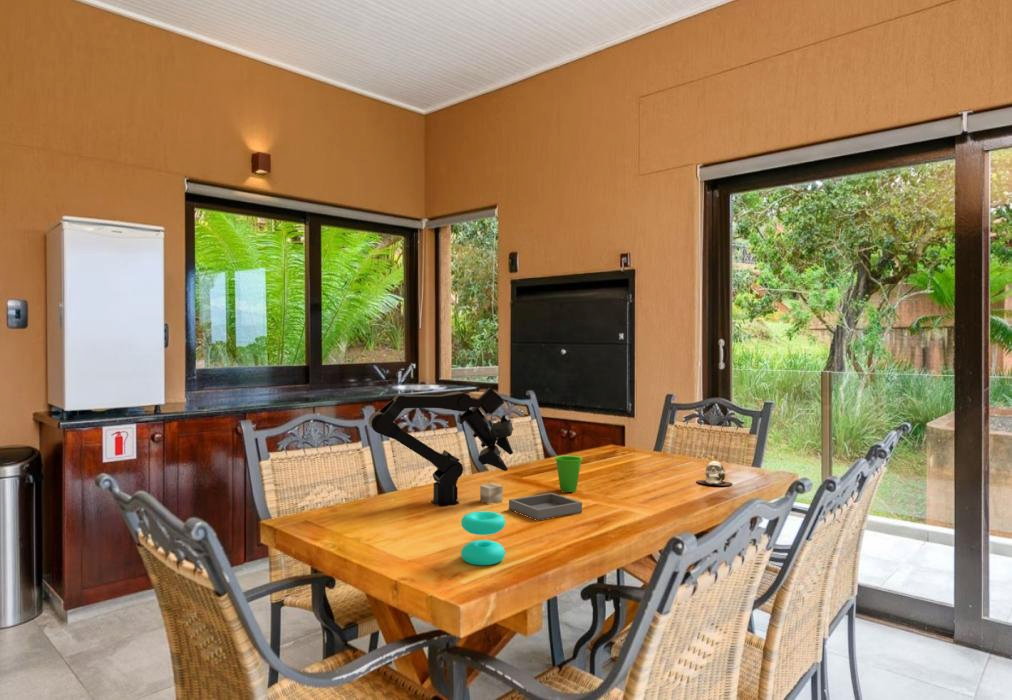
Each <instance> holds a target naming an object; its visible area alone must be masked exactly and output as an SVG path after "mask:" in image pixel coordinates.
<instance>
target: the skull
mask: <svg viewBox="0 0 1012 700" xmlns="http://www.w3.org/2000/svg"><path fill="white" fill-rule="evenodd" d="M704 474H705V479H697V480H696V483H700V484H703V485H704V484H705V485H712V486H732V485H733V482H730V481H726V480H725V478H726V469H725V467H724V466H723V464H722V463H720V462H719V461H715V460H713V461H710V462H709V463H708V464H707V465H706V467H705V473H704Z"/></svg>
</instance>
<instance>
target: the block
mask: <svg viewBox="0 0 1012 700" xmlns="http://www.w3.org/2000/svg"><path fill="white" fill-rule="evenodd" d="M479 487H480V488H479V491H480V494H479V495H480V496H479V501H480V502H481V501H483V502H482V503H484V502H486V503H488V504H487V505H489V504H490V505H492V504H491V503H496V504H498V503H497V502H502V501H503V499H504V498H503V497H504V491H503V489H504V487H503V485H500V484H498V483H486V484H480V486H479ZM486 503H485V504H486ZM502 503H503V502H502Z"/></svg>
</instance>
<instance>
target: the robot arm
mask: <svg viewBox="0 0 1012 700" xmlns="http://www.w3.org/2000/svg"><path fill="white" fill-rule="evenodd" d="M504 404H505V400H504V399H503V397H502V396H500V395H499V394H498V393H497V392H496V391H494V389H493V388H491V387H488V388H486V389H485V391H484V392H483V393H482V394H481V395H480V396H479V397H474V396H473V397H471V396H470V394H468V393H466V392H462V391H453V392H452V391H451V392H448V393H445V394H444V393H443V394H439V395H438V394H435V395H434V394H432V395H431V394H430V395H429V394H428V395H426V394H425V395H423V394H422V395H421V394H419V395H417V394H416V395H415V394H410V395H407V394H406V395H405V394H404V395H403V394H396V395H395V396H394V397H393V398H392V400H391V401H389V402H388V403H386V404H385V405H384V406H383V407H382V408H381V409H380V410H379V411H375V412H373V413H371V415H370V416H369V418H368V425H369V427H370V429H372V430H373V431H374V432H375V433H377V434H380V435H382V436H385V437H386V438H391V439H393V440H395V441H397V442H399V443H400V444H401V445H403V446H405V447H406V448H407V449H409V450H411V451H412V452H414V453H415V454H417V455H418V456H420V457H422V458H423V459H425V460H427V461H429V462H430V463H431V464H432V465H433V466H434V467H435V468H436V470H435V471H434V472H433V473H432V477H433V480H434V481H435V482H434V483H433V499H431V500H430V502H431V504H435V505H436V506H439V507H446V506H452V505H457V504H460V502H459V501H458V495H459V494H458V489H459V488H458V486H457V483H458V480H459V478H460V477H462V475H463V473H464V466H463V463H461V462H460V461H461V459H459V457H456V456H455V455H452V454H451V453H450V452H449V451H447V450H445V449H443V451H442V453H441V452H438V451H436V450H435V449H433V448H432V447H430V446H428V445H427V444H425V443H424V442H422V441H421V440H419V439H417V438H416V437H415V436H413V435H411V434H410V433H408V432H406V431H405V430H403V429H402V428H401V427H400V426H399V425H398V424H397V423H396V422H395V420H397V418H398V417H399V416H400V414H401V413H402V412H403V410H405V409H446V410H450V411H454V412H455V411H456V412H462V414H458V413H457V419H456V423H458V424H460V425H462V424H463V423H464V422H465V424H467V426H468V428H469V429H470V430H471V431H472V432H473V434H472V436H473V438H478V440H479V441H480V447H481V448H484V449H481V450H480V452H479V454H478V459H477V461H478V463H480V465H482V466H484V465H485V466H486V465H488V466H493V468H496V469H499V470H502V471H503V472H507V471H508V470H509V469H508V466H507V465H506V463H505V462H504V460H503V459H502V457H501V450H500V449H499V448H501V449H502V450H503V451H504V452H506V453H507V454H508V455H510V456H511V455H513V454H514V452H513V449H512V446H511V444H510V441H509V438H508V437H510V436H512V434H513V431H514V427H513V420H511V418H509V416H508V415H507V414H504V415H501V418H500V420H497V422H494V421H493V420H491V419H489V420H488V419H487V417H486V416H487V415H490V416H492V415H493V414H494V413H495V412H496V411H497V410H498V409H500V408H501V407H502V406H504Z"/></svg>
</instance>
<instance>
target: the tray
mask: <svg viewBox="0 0 1012 700" xmlns="http://www.w3.org/2000/svg"><path fill="white" fill-rule="evenodd" d="M509 509H510V510H513V511H516V512H518V513H521V514H523V515H526V516H528V517H531V518H533V519H536V520H541V521H543V520H542V519H546V520H548V519H547V518H552V517H557V518H559V517H558V516H562V517H565V516H564V515H568V516H571V515H570V514H573V515H576V514H575V513H578V514H582V513H583V502H582V501H579V500H575V499H573V498H569V497H566V496H563V495H560V494H557V493H553V492H548V493H543V494H537V495H528V496H524V497H518V498H511V499H508V510H509ZM510 510H509V511H510ZM513 511H512V512H513ZM581 512H582V513H581ZM518 513H517V514H518ZM521 514H520V515H521ZM523 515H522V516H523ZM526 516H525V517H526ZM528 517H527V518H528ZM531 518H530V519H531ZM533 519H532V520H533ZM552 519H553V518H552ZM536 520H535V521H536Z"/></svg>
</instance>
